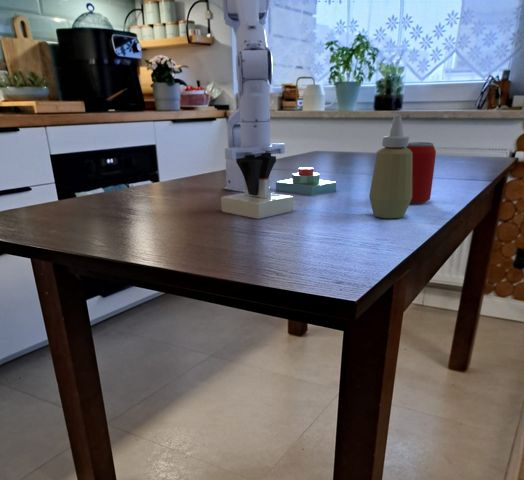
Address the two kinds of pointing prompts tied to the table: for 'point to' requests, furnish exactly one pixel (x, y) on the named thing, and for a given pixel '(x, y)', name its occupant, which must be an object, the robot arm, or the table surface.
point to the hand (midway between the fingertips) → (256, 194)
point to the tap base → (257, 205)
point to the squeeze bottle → (392, 175)
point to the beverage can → (422, 170)
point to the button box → (306, 185)
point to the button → (306, 171)
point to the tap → (260, 188)
